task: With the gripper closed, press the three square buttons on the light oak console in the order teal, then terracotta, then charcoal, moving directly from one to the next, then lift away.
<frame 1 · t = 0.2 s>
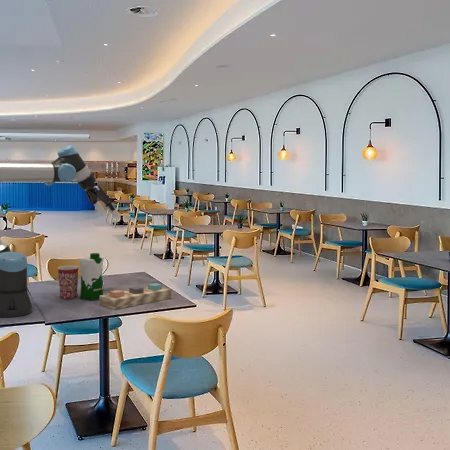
hand: (110, 215, 255), 36 cm above the table, tool tilted 35°, fingers open, 13 cm apart
teal button: (154, 287, 247), point 4 cm above the table, slide at 0.0 cm
charcoal button: (136, 291, 240), point 4 cm above the table, slide at 0.0 cm
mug: (70, 296, 248), on the table
milk carton: (91, 298, 246), on the table
terracotta button: (116, 294, 233), point 4 cm above the table, slide at 0.0 cm
oak button console: (136, 301, 240), on the table
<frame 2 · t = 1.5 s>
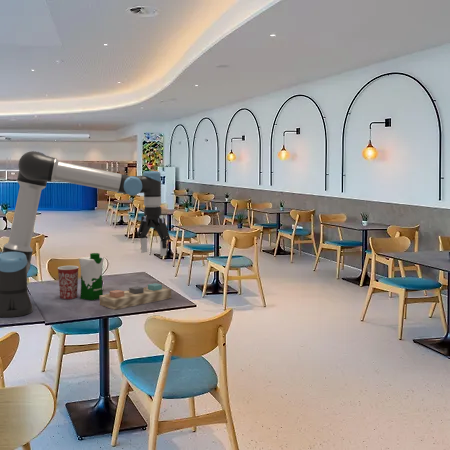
hand: (153, 254, 246), 20 cm above the table, tool pointing down, fingers open, 13 cm apart
nothing on the table moved.
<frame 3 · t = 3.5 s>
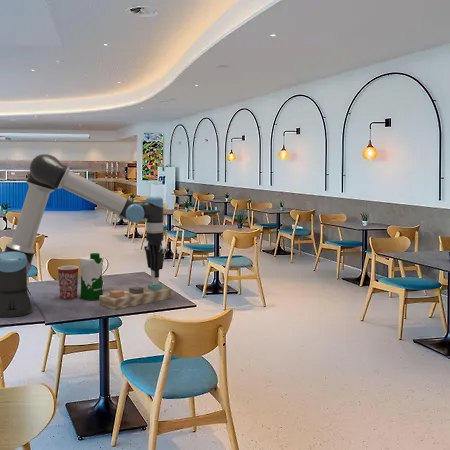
hand: (155, 284, 247), 6 cm above the table, tool pointing down, fingers closed
teal button: (154, 288, 247), point 4 cm above the table, slide at 0.2 cm, touching gripper
everything else where it was.
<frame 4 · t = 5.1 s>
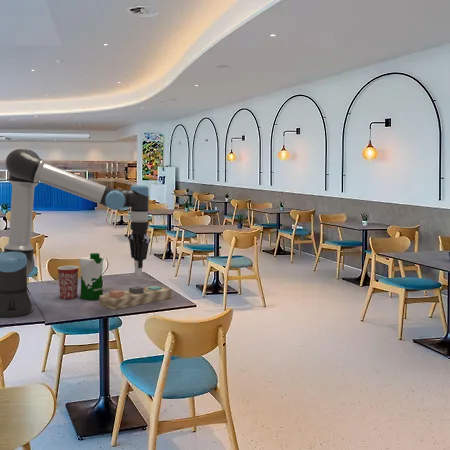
hand: (138, 275, 241), 11 cm above the table, tool pointing down, fingers closed
teal button: (154, 290, 247), point 3 cm above the table, slide at 1.3 cm
everything else where it was.
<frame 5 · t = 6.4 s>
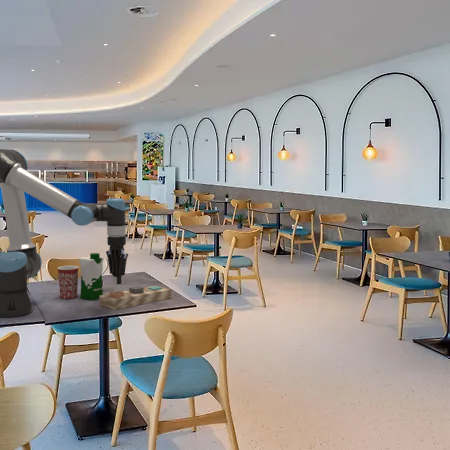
hand: (117, 291, 233), 6 cm above the table, tool pointing down, fingers closed
terracotta button: (116, 295, 233), point 4 cm above the table, slide at 0.3 cm, touching gripper
everything else where it was.
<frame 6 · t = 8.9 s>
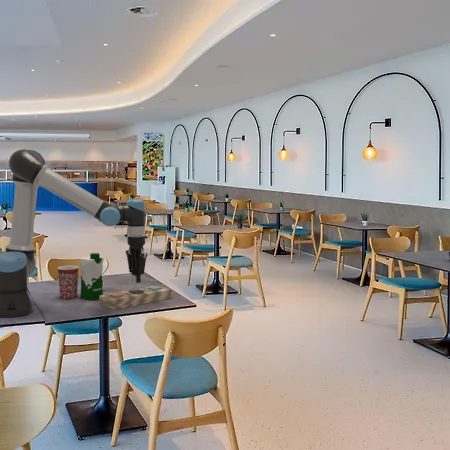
hand: (136, 289, 240), 5 cm above the table, tool pointing down, fingers closed
charcoal button: (136, 293, 240), point 3 cm above the table, slide at 1.1 cm, touching gripper
terracotta button: (116, 297, 233), point 3 cm above the table, slide at 1.3 cm
everything else where it was.
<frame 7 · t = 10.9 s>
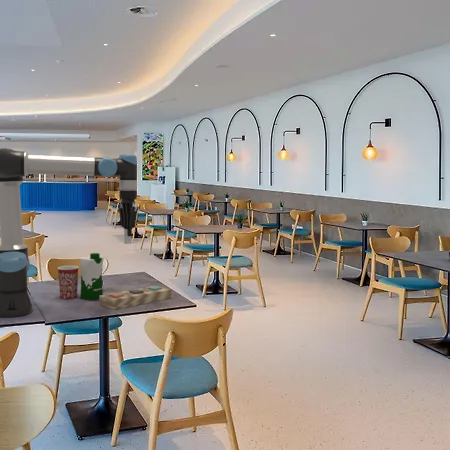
hand: (127, 243, 244), 24 cm above the table, tool pointing down, fingers closed
charcoal button: (136, 294, 240), point 3 cm above the table, slide at 1.3 cm
everything else where it was.
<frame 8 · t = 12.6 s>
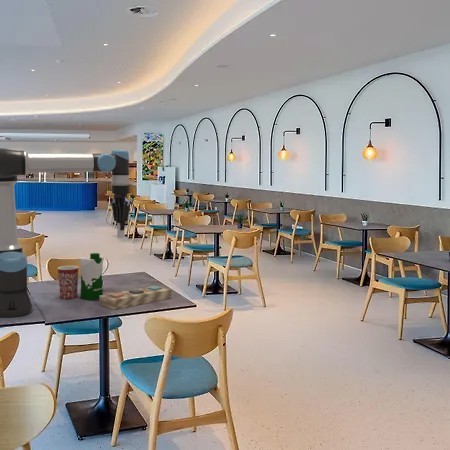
hand: (120, 237, 249), 26 cm above the table, tool pointing down, fingers closed
nothing on the table moved.
at the end: teal button slide at 1.3 cm; terracotta button slide at 1.3 cm; charcoal button slide at 1.3 cm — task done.
